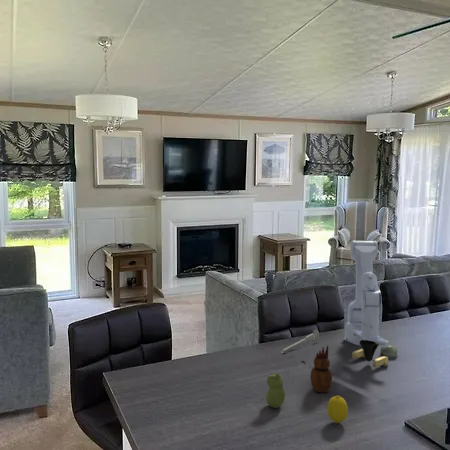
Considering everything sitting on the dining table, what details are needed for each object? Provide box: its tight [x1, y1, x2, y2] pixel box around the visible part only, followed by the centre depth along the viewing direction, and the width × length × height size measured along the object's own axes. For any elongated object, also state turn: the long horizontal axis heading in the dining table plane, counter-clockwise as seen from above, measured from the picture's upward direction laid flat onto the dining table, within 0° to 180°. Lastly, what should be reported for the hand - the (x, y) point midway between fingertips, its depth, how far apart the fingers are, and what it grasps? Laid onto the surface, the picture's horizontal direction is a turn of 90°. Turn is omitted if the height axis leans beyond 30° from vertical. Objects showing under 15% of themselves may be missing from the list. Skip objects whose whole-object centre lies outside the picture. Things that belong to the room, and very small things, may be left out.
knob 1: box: [351, 348, 366, 360], centre depth 166 cm, size 2×7×3 cm, turn 126°
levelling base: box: [380, 344, 398, 359], centre depth 167 cm, size 14×20×5 cm
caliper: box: [280, 328, 320, 354], centre depth 180 cm, size 21×1×6 cm, turn 124°
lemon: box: [327, 395, 349, 424], centre depth 125 cm, size 6×6×8 cm
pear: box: [265, 373, 286, 409], centre depth 134 cm, size 6×5×10 cm
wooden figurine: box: [310, 345, 333, 394], centre depth 143 cm, size 7×6×15 cm
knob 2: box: [372, 355, 389, 368], centre depth 159 cm, size 2×7×3 cm, turn 125°
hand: (368, 360), depth 161 cm, fingers closed
